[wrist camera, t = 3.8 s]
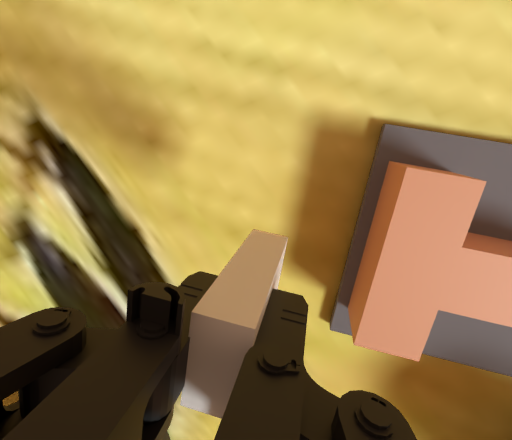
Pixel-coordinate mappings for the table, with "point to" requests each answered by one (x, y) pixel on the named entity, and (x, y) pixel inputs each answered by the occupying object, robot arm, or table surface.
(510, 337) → the mat
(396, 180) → the t block
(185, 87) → the table surface
